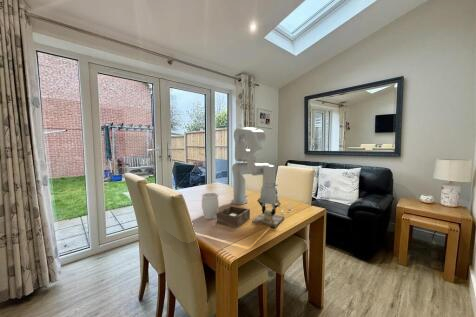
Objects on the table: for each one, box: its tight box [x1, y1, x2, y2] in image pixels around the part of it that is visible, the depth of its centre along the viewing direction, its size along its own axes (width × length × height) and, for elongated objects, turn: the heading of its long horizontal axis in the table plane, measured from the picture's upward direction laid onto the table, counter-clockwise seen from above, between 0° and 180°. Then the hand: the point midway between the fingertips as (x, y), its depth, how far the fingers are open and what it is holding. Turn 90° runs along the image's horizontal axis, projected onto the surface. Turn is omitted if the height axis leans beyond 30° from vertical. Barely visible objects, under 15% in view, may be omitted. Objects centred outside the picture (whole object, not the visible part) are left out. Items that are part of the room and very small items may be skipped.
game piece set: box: [265, 204, 292, 215], centre depth 152 cm, size 19×20×4 cm
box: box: [215, 205, 251, 229], centre depth 130 cm, size 16×14×7 cm
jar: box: [201, 192, 219, 220], centre depth 137 cm, size 11×10×15 cm
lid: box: [251, 208, 285, 228], centre depth 131 cm, size 17×15×7 cm
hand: (268, 213), depth 131 cm, fingers open, 5 cm apart
